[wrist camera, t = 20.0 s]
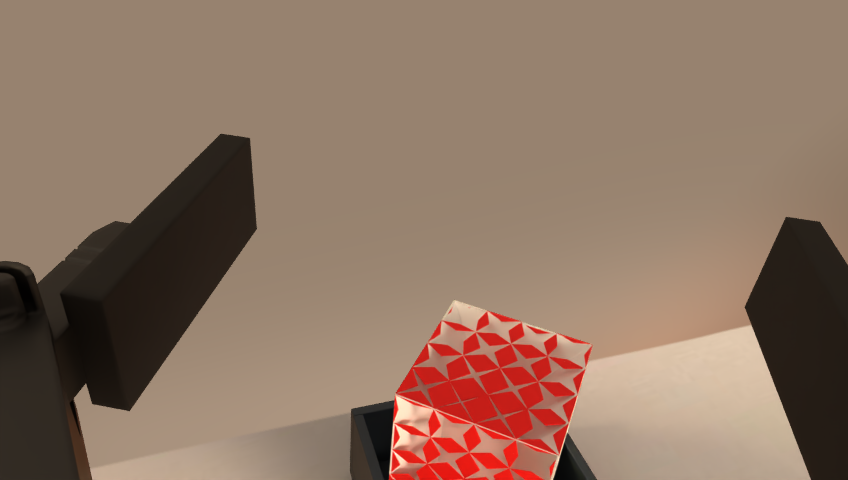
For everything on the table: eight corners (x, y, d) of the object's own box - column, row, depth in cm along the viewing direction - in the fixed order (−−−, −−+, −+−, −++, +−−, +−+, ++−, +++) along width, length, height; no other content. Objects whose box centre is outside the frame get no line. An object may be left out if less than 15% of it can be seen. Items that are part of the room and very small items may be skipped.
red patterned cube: (529, 557, 33) (559, 456, 29) (387, 497, 35) (394, 394, 31) (564, 441, 39) (593, 343, 35) (441, 396, 41) (454, 298, 37)
